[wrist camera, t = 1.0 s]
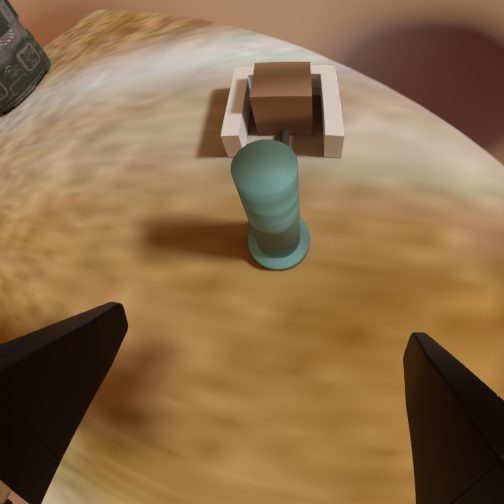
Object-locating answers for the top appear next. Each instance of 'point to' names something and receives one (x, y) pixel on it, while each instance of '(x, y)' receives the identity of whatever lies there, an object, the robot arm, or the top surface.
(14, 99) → the canister
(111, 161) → the top surface
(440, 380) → the robot arm
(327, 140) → the lane
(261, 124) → the tethered block
